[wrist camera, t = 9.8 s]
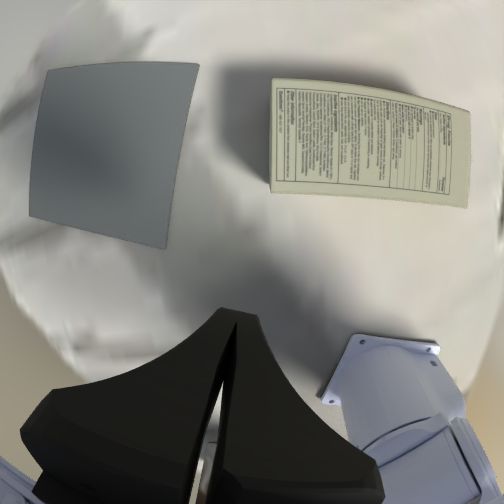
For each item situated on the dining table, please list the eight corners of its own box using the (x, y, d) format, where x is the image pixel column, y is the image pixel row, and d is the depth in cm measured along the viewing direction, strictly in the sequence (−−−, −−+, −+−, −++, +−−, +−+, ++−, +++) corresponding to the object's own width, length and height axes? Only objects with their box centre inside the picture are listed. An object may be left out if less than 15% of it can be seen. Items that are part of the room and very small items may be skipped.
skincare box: (267, 187, 18) (434, 203, 18) (266, 194, 14) (468, 215, 13) (270, 90, 16) (438, 117, 16) (270, 70, 12) (473, 111, 12)
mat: (199, 65, 16) (198, 63, 16) (165, 248, 20) (164, 249, 20) (50, 71, 16) (47, 70, 16) (31, 215, 20) (29, 216, 20)
